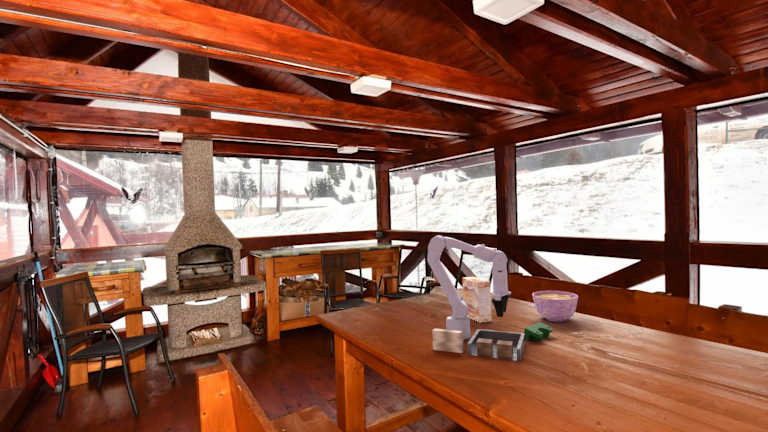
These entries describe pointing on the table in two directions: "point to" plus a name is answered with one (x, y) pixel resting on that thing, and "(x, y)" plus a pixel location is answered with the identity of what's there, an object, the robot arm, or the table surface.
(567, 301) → the bowl of food
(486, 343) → the offcut left
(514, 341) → the tray
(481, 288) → the coffeecake box
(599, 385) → the table surface
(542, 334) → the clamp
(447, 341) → the birch block
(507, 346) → the offcut right
